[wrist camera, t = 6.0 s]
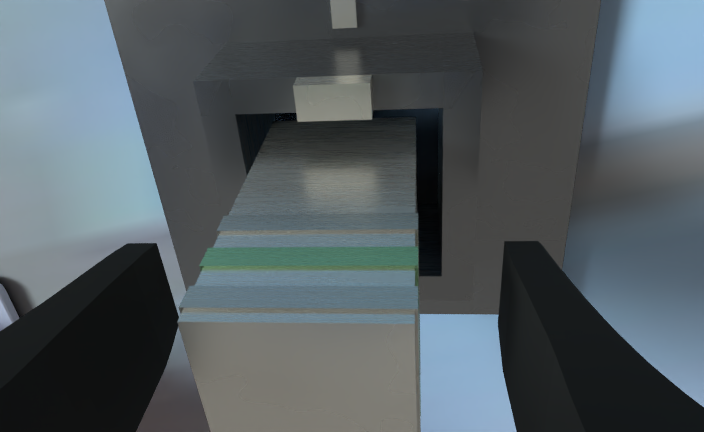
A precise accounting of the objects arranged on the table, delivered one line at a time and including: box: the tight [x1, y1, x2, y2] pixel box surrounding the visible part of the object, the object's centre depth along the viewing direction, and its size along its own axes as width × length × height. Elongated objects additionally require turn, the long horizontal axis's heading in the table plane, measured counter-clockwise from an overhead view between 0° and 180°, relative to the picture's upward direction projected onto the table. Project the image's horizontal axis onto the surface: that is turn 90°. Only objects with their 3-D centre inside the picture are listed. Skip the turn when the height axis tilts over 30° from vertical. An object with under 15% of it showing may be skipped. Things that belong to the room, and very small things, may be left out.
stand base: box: [104, 0, 601, 314], centre depth 16 cm, size 12×12×4 cm
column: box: [177, 117, 421, 432], centre depth 12 cm, size 4×4×7 cm
